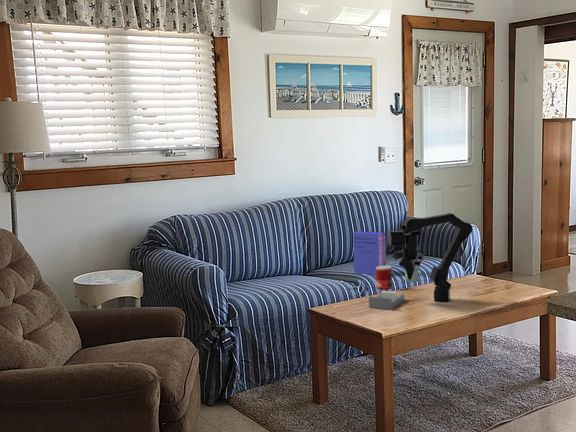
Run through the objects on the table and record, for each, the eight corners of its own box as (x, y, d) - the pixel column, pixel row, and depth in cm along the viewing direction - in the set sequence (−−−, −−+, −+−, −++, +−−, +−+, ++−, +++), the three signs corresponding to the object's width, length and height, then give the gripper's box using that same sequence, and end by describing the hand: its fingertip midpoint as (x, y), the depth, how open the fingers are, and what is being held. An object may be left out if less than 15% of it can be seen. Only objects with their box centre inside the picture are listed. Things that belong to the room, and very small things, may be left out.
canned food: (391, 290, 329) (391, 268, 327) (375, 289, 330) (375, 268, 329) (392, 286, 336) (391, 265, 335) (376, 286, 338) (376, 265, 337)
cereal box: (386, 274, 365) (385, 232, 362) (382, 276, 361) (381, 233, 358) (358, 272, 374) (357, 231, 371) (354, 273, 370) (353, 232, 367)
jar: (420, 280, 304) (420, 264, 303) (416, 282, 298) (416, 267, 297) (407, 279, 307) (407, 264, 306) (403, 281, 301) (403, 266, 300)
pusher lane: (404, 299, 309) (404, 289, 308) (390, 309, 292) (390, 298, 291) (383, 297, 314) (383, 287, 313) (369, 307, 297) (368, 297, 296)
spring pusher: (396, 301, 304) (396, 292, 303) (396, 302, 303) (396, 292, 302) (381, 300, 307) (381, 291, 307) (381, 300, 306) (381, 291, 306)
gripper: (401, 241, 312) (401, 272, 314) (387, 247, 296) (388, 281, 298) (423, 242, 307) (424, 274, 309) (411, 248, 291) (412, 282, 293)
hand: (411, 278), depth 302 cm, fingers closed on jar, 6 cm apart
